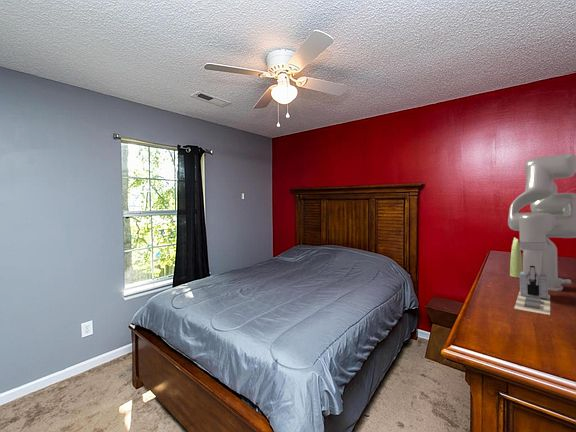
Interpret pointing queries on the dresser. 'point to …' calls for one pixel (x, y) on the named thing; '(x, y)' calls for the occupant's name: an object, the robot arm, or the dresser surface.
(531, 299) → the graphite tile
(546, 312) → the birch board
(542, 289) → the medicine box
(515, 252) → the tube
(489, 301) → the dresser surface
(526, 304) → the graphite tile
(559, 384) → the dresser surface
